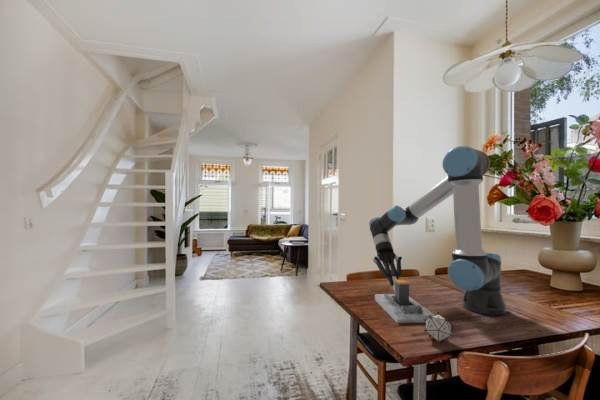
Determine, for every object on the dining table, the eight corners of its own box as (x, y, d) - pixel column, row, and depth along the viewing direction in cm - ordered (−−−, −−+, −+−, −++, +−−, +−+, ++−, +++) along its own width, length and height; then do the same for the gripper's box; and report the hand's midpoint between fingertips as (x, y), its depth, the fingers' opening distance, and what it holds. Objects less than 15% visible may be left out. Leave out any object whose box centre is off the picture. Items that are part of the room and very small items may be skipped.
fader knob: (393, 300, 115) (393, 279, 115) (405, 300, 115) (405, 279, 115) (398, 305, 110) (398, 282, 110) (410, 304, 110) (410, 282, 110)
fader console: (374, 299, 124) (374, 289, 124) (405, 299, 125) (405, 289, 125) (397, 322, 100) (397, 310, 100) (435, 322, 101) (435, 309, 101)
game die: (445, 354, 86) (466, 336, 81) (420, 345, 86) (440, 326, 81) (436, 328, 94) (455, 310, 89) (413, 320, 94) (431, 301, 89)
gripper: (394, 250, 136) (410, 296, 119) (367, 250, 135) (379, 296, 118) (399, 240, 130) (416, 287, 113) (371, 240, 130) (384, 287, 113)
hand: (397, 292), depth 116 cm, fingers closed
